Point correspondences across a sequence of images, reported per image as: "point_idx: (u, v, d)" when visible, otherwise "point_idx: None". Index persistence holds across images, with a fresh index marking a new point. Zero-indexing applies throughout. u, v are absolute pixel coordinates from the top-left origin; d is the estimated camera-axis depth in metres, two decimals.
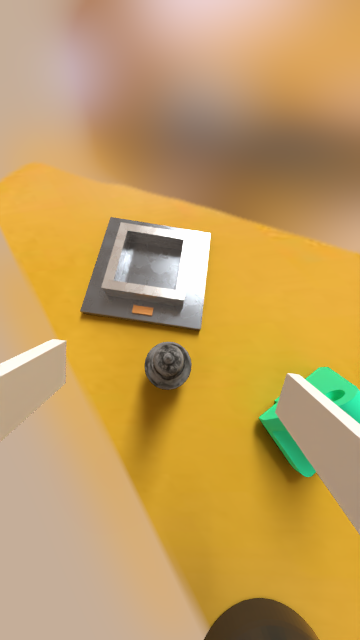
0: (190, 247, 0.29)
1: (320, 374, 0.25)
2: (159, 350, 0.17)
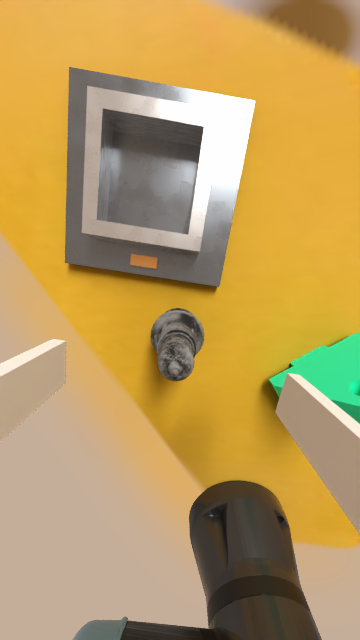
0: (215, 146, 0.17)
1: (355, 344, 0.21)
2: (163, 355, 0.13)
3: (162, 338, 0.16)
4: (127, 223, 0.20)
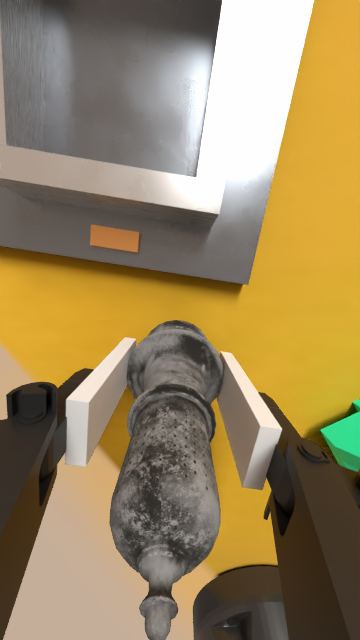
0: None
1: None
2: (124, 512, 0.04)
3: (138, 404, 0.07)
4: None
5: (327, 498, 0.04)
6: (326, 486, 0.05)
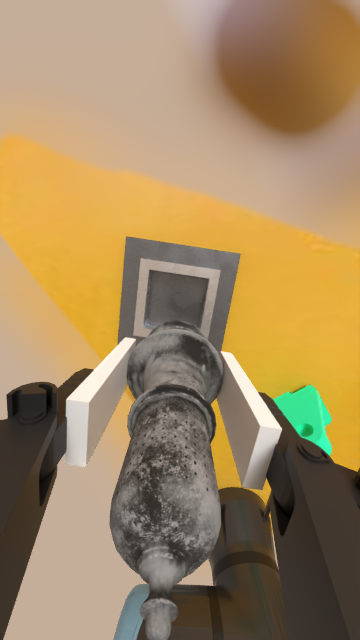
0: (215, 288, 0.28)
1: (307, 394, 0.32)
2: (124, 514, 0.04)
3: (139, 404, 0.07)
4: (159, 322, 0.31)
5: (327, 498, 0.04)
6: (327, 485, 0.05)
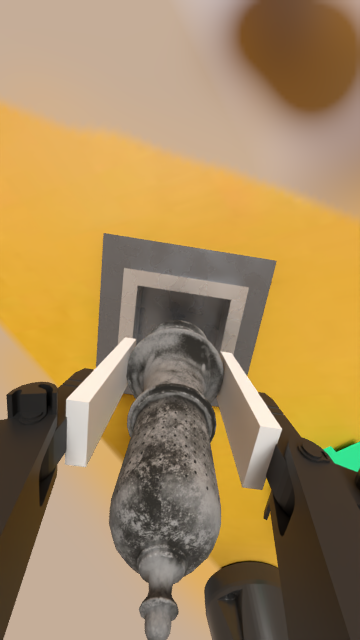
0: (240, 315, 0.18)
1: None
2: (124, 513, 0.04)
3: (138, 404, 0.07)
4: None
5: (327, 498, 0.04)
6: (326, 485, 0.05)
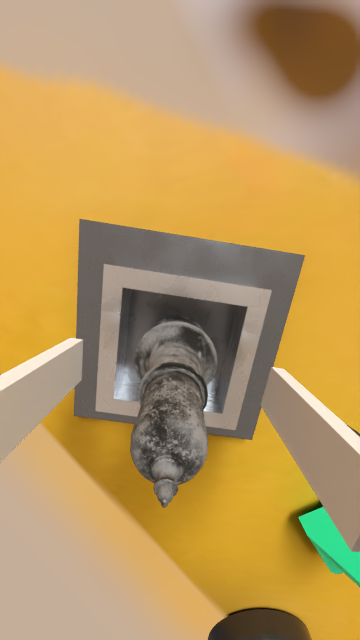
0: (259, 326, 0.14)
1: None
2: (141, 438, 0.06)
3: (147, 378, 0.09)
4: None
5: None
6: None
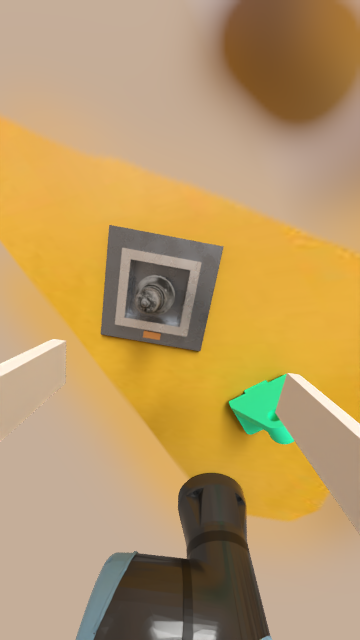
0: (196, 280, 0.28)
1: (282, 383, 0.33)
2: (138, 295, 0.20)
3: (141, 290, 0.23)
4: None
5: None
6: None
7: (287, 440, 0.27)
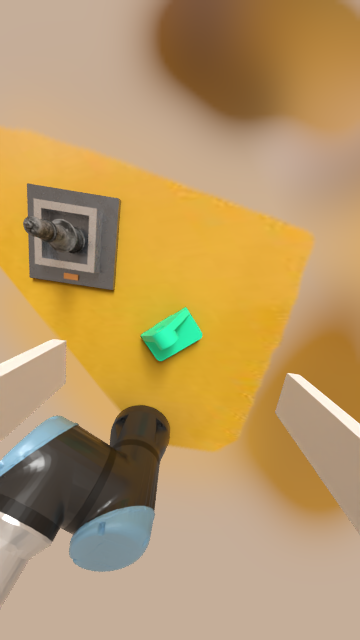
0: (95, 224, 0.35)
1: (179, 312, 0.40)
2: None
3: None
4: (61, 257, 0.39)
5: None
6: None
7: (165, 345, 0.33)
